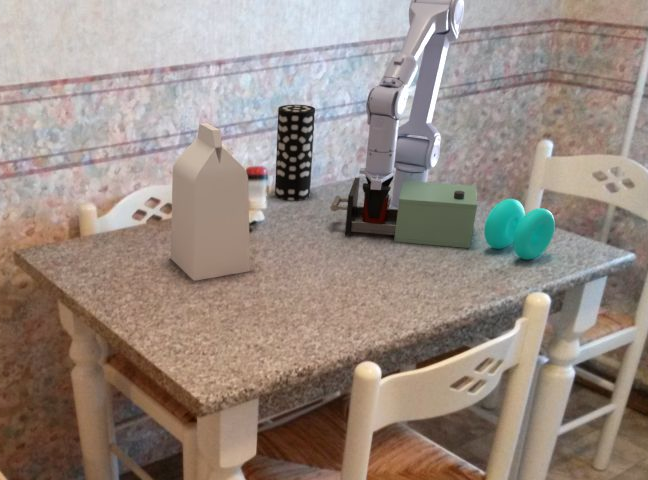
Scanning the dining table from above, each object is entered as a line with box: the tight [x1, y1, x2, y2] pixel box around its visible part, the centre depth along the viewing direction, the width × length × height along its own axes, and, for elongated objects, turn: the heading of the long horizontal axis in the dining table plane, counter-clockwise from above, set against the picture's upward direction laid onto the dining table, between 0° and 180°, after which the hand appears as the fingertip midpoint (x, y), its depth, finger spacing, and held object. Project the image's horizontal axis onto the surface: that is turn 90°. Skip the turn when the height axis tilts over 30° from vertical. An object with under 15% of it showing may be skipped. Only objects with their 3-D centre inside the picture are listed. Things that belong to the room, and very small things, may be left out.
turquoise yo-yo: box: [483, 198, 556, 261], centre depth 159 cm, size 10×10×10 cm
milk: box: [170, 122, 251, 282], centre depth 150 cm, size 12×12×26 cm
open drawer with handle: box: [330, 177, 398, 236], centre depth 171 cm, size 13×18×8 cm
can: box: [362, 193, 390, 224], centre depth 171 cm, size 5×5×6 cm
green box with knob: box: [393, 181, 478, 249], centre depth 168 cm, size 13×15×10 cm
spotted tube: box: [274, 104, 316, 201], centre depth 189 cm, size 8×8×20 cm
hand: (374, 213), depth 172 cm, fingers closed on can, 5 cm apart
